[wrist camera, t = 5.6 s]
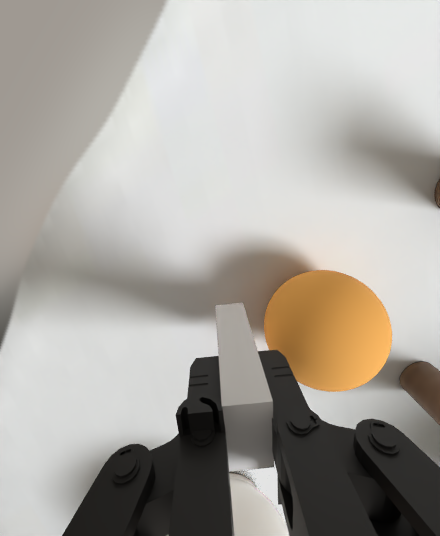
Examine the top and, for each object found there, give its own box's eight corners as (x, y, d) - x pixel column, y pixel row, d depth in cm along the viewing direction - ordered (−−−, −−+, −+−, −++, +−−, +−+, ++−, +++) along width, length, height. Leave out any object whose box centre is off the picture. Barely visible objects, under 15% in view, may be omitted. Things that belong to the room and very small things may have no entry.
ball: (345, 450, 10) (407, 376, 13) (350, 315, 8) (421, 268, 11) (246, 373, 15) (309, 332, 18) (236, 278, 13) (307, 251, 16)
